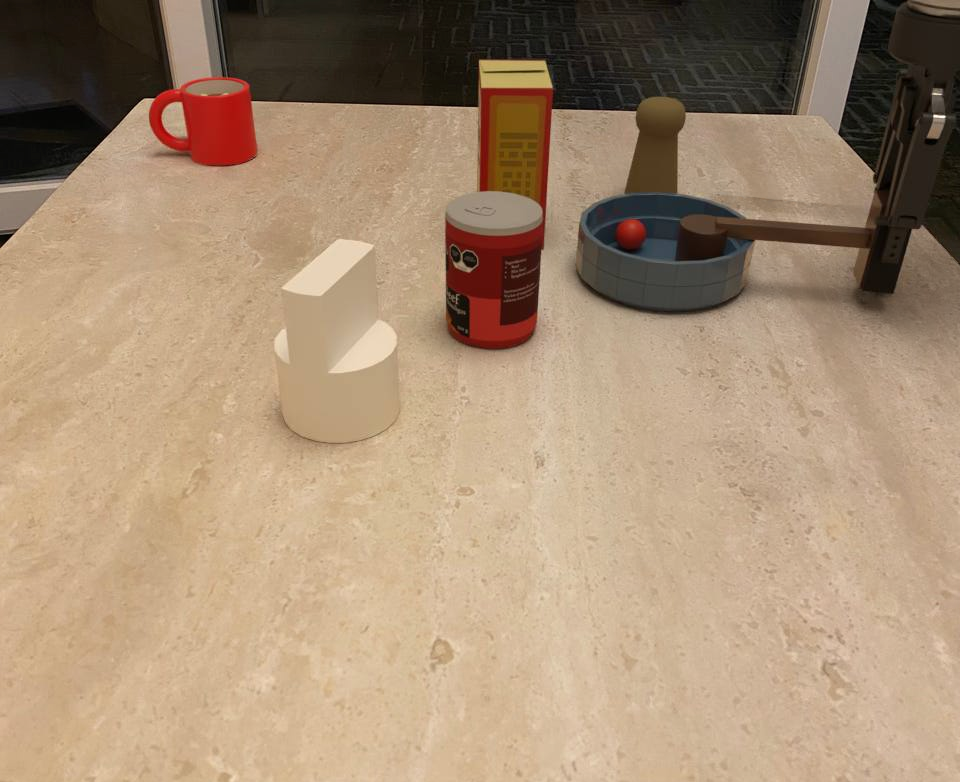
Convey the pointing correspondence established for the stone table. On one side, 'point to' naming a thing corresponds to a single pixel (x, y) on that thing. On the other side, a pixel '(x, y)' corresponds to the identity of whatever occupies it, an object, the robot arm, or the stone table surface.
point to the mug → (210, 120)
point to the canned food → (492, 268)
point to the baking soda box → (514, 128)
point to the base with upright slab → (337, 349)
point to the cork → (656, 146)
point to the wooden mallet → (776, 235)
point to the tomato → (630, 234)
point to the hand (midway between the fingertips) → (874, 279)
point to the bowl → (658, 254)
